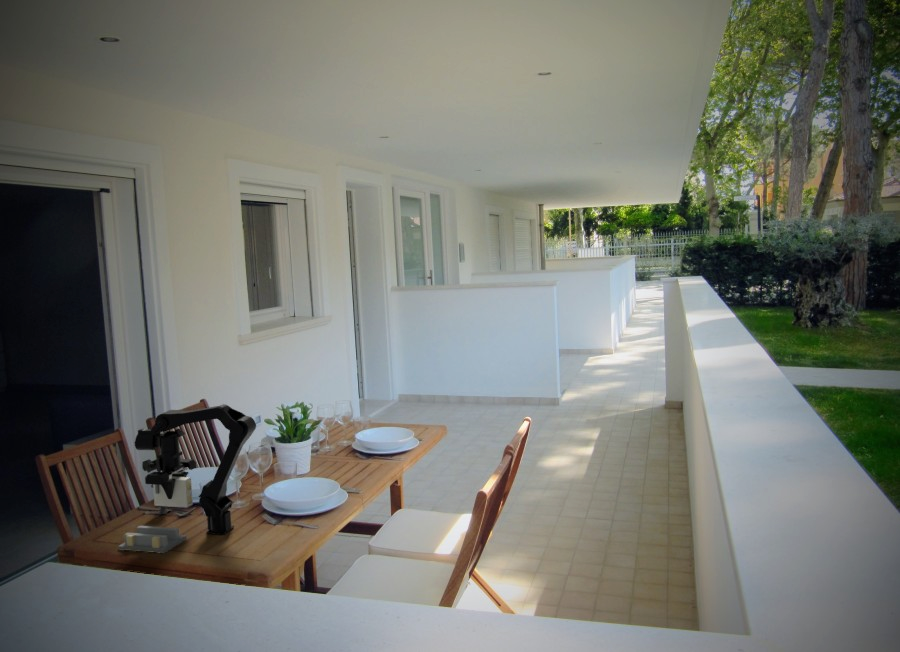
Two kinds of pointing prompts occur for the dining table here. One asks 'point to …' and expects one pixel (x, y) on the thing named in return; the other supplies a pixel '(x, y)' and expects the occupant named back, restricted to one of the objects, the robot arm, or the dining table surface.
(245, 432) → the robot arm
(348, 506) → the dining table surface
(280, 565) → the dining table surface
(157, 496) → the white rectangular block
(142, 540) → the clip plinth
